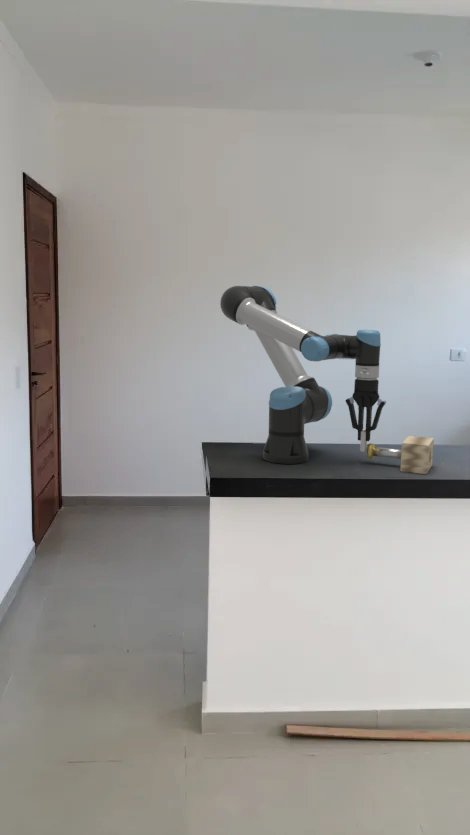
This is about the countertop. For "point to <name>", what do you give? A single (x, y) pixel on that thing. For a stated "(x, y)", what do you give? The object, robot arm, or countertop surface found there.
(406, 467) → the bore block
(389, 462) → the countertop surface
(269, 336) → the robot arm
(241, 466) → the countertop surface
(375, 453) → the pin
